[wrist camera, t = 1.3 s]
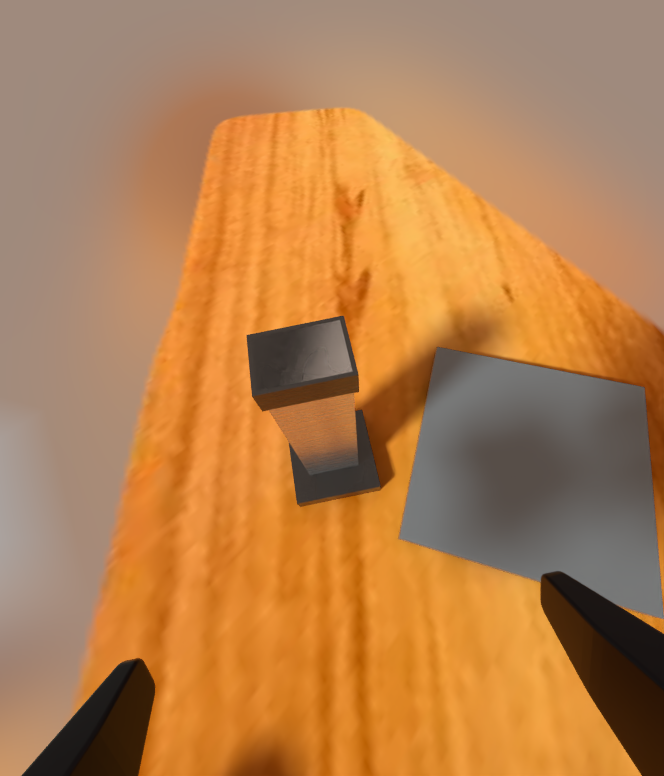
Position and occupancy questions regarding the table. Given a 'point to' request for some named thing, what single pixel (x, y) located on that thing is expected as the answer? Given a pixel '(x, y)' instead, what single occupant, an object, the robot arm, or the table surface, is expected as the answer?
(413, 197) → the table surface
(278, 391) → the tray topped pillar
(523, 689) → the table surface
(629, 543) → the plate
